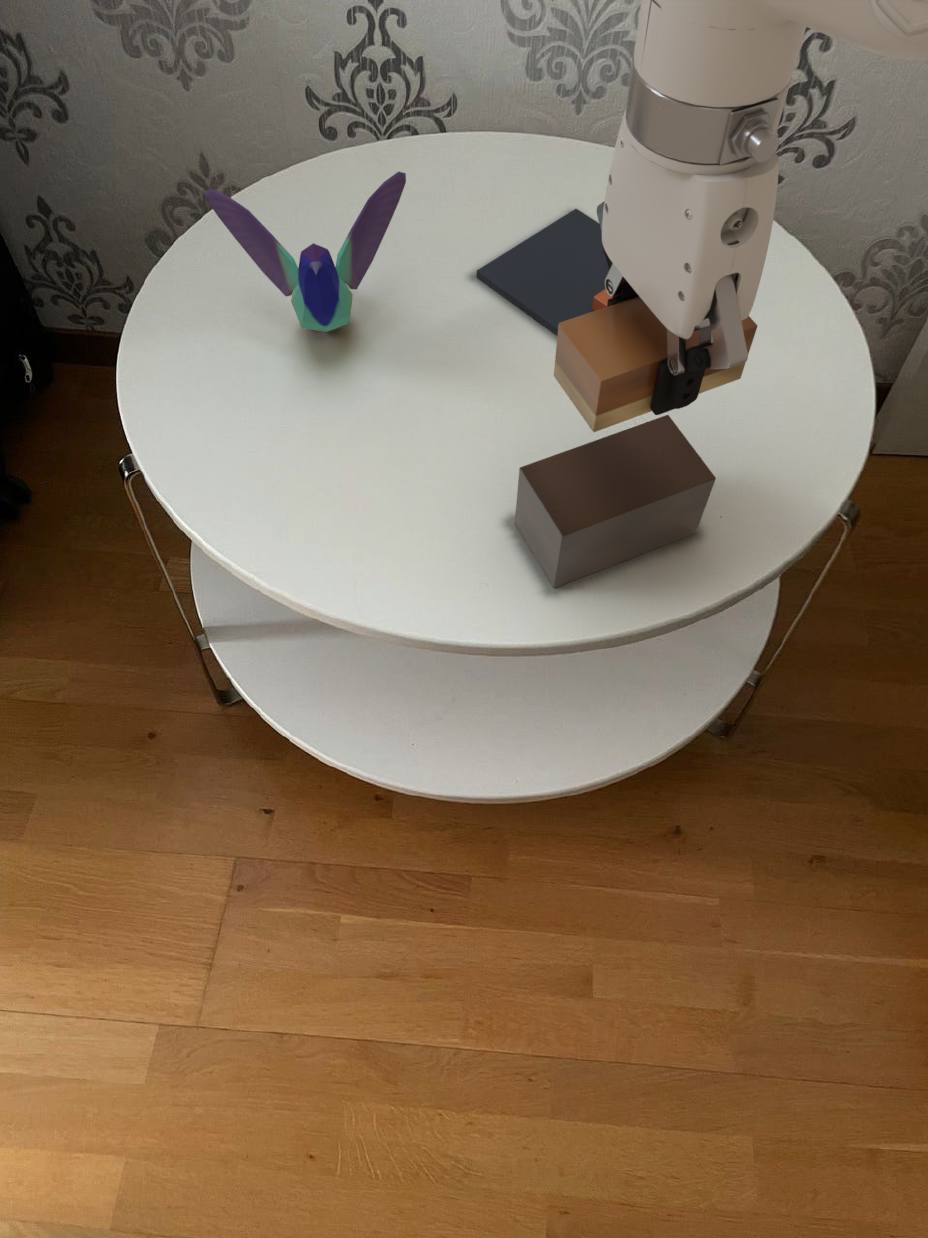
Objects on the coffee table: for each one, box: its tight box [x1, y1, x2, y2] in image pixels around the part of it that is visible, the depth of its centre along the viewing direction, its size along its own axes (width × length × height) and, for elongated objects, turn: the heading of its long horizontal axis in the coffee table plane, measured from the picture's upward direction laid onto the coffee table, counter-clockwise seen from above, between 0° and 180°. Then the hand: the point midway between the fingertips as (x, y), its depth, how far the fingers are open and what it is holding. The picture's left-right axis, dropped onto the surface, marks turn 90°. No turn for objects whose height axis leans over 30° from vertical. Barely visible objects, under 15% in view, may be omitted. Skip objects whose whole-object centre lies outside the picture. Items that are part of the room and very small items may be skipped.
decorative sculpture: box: [204, 171, 407, 333], centre depth 81 cm, size 17×18×15 cm
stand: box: [514, 414, 717, 589], centre depth 74 cm, size 13×7×7 cm, turn 115°
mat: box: [476, 208, 609, 336], centre depth 91 cm, size 16×14×1 cm
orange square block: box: [592, 289, 612, 311], centre depth 88 cm, size 4×4×2 cm
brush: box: [553, 296, 758, 433], centre depth 60 cm, size 11×6×4 cm, turn 115°
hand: (648, 371), depth 62 cm, fingers closed on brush, 5 cm apart
